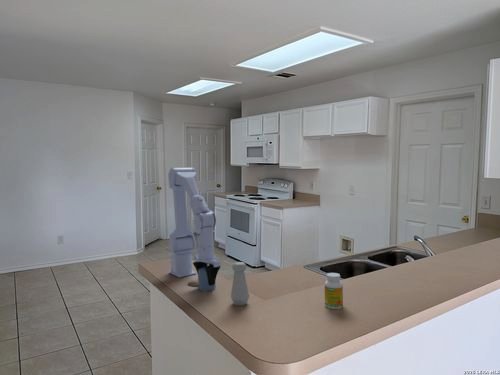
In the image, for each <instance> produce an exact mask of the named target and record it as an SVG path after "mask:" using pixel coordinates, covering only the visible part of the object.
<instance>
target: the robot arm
mask: <svg viewBox="0 0 500 375" xmlns="http://www.w3.org/2000/svg"><path fill="white" fill-rule="evenodd" d="M167 176H168V185H169V189H171V190H172V192H173V193H172V194H173V205H174V206H173V208H174V220H175V221H174V222H175V229H174V230H173V231H172V232H171V233H170V234H169V239H168V240H169V241H168V247H169V251H170V252H171V255H170V270H169V271H168V273H169V274H171V275H173V276H176V277H177V278H183V277H187V276H192V275H196V274H198V269H199V268H202V267H204V268H205V270H206V273H207V278H208V284H209V286H211V285H215V280H217V276H218V273H219V270H220V269H221V264H220V260H218V259H217V257H215V245H214V244H215V240H214V228H215V227H216V224H217V217H216V214H215V212H214V211H213V210H211V209H209V206H208V204H207V202H206V200H205V198H204V196H202V195H200V192H199V189H198V187H197V184H196V182H197V171H196V169H195V168H194V167H193V166H191V167H171V168H170V169H169V171H168V175H167ZM186 193H187V194H186ZM186 195H188V197H189V198H190V199H189V202H188V203H189V206H190V210H192V211H191V212H192V213H193V216H194V220H193V224H194V226H195V233H196V234H197V235H196V236H197V243H196V238H195V233H194V232H193V231H192V230H191V229H190V228H189V225H188V224H189V223H188V212H187V211H188V210H187V198H186ZM196 246H197V253H195V254H193V252H194V250H195V249H196ZM192 254H193V255H192ZM192 256H193V257H192ZM193 260H194V261H193ZM193 266H194V268H195V270H196V271H194V270H193Z"/></svg>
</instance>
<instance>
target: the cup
mask: <svg viewBox="0 0 500 375" xmlns="http://www.w3.org/2000/svg"><path fill="white" fill-rule="evenodd" d="M197 280H198V286H197V287H198V290H199V291H201V292H202V291H204V292H205V291H207V292H210V291H213V290H215V289H216V287H217V282H216V280H217V279H216V280H215V285H211V286H209V284H208V278H207V273H206V270H205V268H204V267H202V268H199V269H198V273H197Z"/></svg>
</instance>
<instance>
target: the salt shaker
mask: <svg viewBox="0 0 500 375" xmlns="http://www.w3.org/2000/svg"><path fill="white" fill-rule="evenodd" d="M246 270H247V264H246V263H245V262H244V261H237V262H234V263H233V264H232V271H233V279H232V286H231V292H230V298H231V300H232V303H233V305H235V306H240V307H241V306H245V304H246V305H247V304H248V300H249V298H250V292H249V288H248V283H247V280H246V275H245V271H246Z"/></svg>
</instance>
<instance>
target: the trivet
mask: <svg viewBox="0 0 500 375" xmlns="http://www.w3.org/2000/svg"><path fill="white" fill-rule="evenodd" d="M187 285H188V286H189V287H198V279H193V280H189V281H188V282H187Z"/></svg>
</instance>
